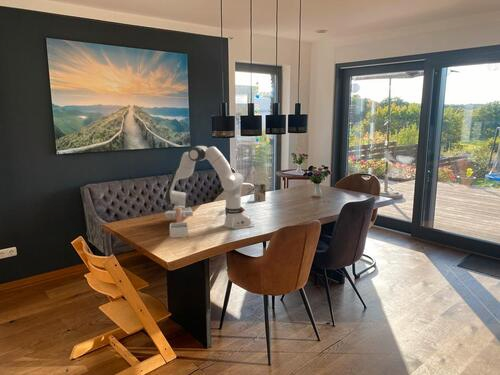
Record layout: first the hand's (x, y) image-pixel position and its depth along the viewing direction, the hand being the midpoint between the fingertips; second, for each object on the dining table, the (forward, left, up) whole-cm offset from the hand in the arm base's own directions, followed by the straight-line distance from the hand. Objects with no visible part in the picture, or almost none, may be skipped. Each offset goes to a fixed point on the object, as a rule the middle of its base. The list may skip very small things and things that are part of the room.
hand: (178, 216), depth 277 cm
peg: (0, -1, -8) cm, 8 cm away
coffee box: (-75, -77, -10) cm, 108 cm away
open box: (0, +12, -9) cm, 16 cm away
